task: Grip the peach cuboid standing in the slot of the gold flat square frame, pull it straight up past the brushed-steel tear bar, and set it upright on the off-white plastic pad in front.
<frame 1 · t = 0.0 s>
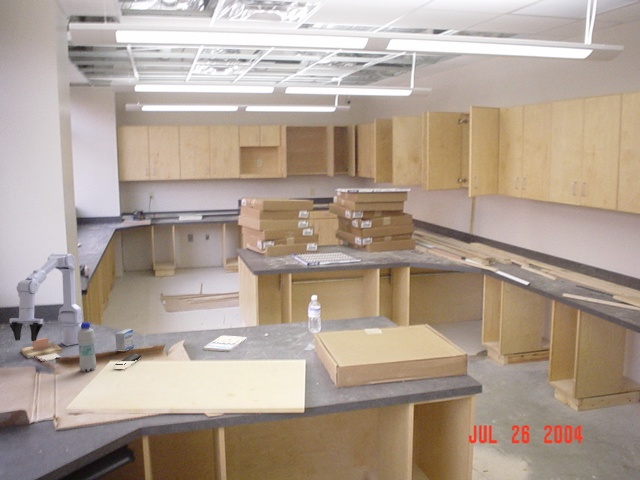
hand: (25, 340, 237), 11 cm above the counter, tool pointing down, fingers open, 7 cm apart
gold flat square frame: (41, 351, 256), on the counter
pad: (48, 358, 247), on the counter
peach cuboid: (41, 352, 256), resting in gold flat square frame
bottle: (88, 370, 231), on the counter
white book: (225, 345, 263), on the counter
multiport hub: (128, 364, 238), on the counter
medicine box: (125, 349, 258), on the counter
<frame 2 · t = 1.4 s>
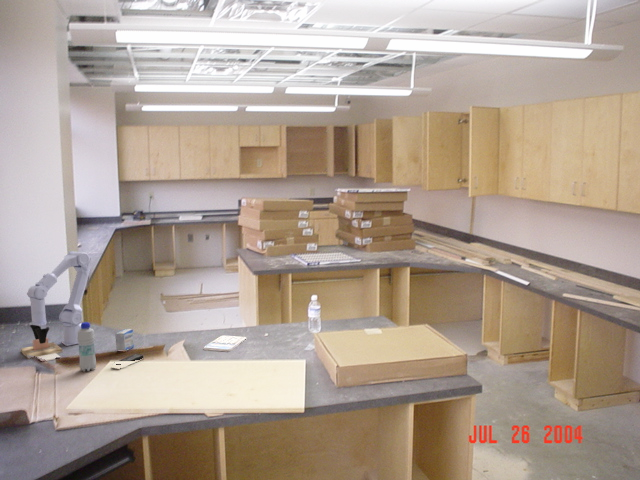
hand: (40, 341, 255), 5 cm above the counter, tool pointing down, fingers open, 7 cm apart
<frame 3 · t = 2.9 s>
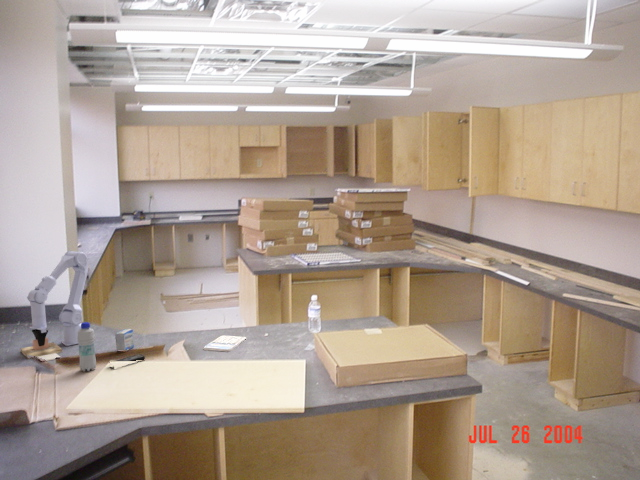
hand: (40, 345, 256), 3 cm above the counter, tool pointing down, fingers closed on peach cuboid, 2 cm apart
peach cuboid: (41, 351, 256), resting in gold flat square frame, touching gripper
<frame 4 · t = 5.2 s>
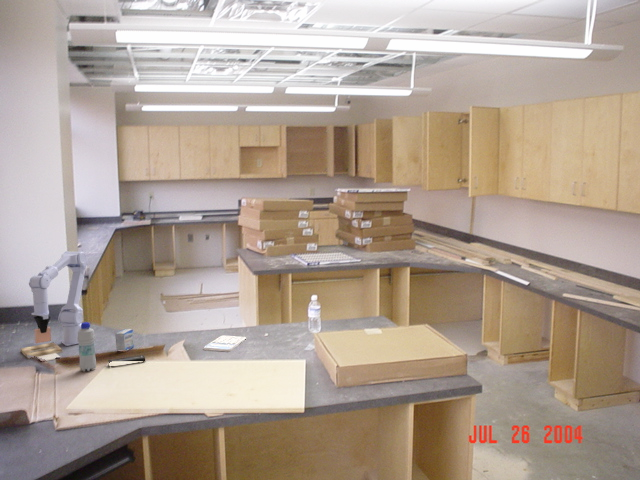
hand: (42, 332, 250), 10 cm above the counter, tool pointing down, fingers closed on peach cuboid
peach cuboid: (43, 341, 251), point 6 cm above the counter, touching gripper
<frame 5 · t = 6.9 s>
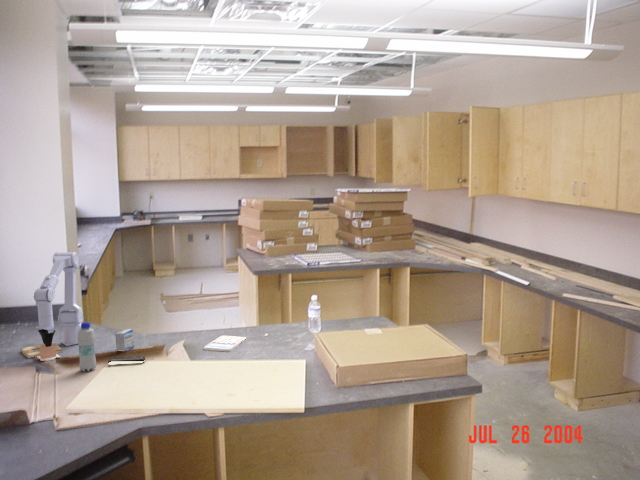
hand: (47, 345, 246), 6 cm above the counter, tool pointing down, fingers closed on peach cuboid, 2 cm apart
peach cuboid: (48, 357, 247), resting on pad, touching gripper
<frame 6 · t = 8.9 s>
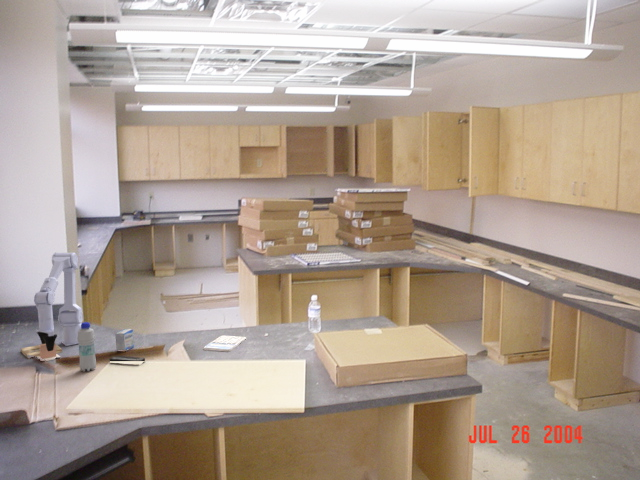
hand: (48, 348, 246), 4 cm above the counter, tool pointing down, fingers open, 7 cm apart
peach cuboid: (48, 357, 247), resting on pad
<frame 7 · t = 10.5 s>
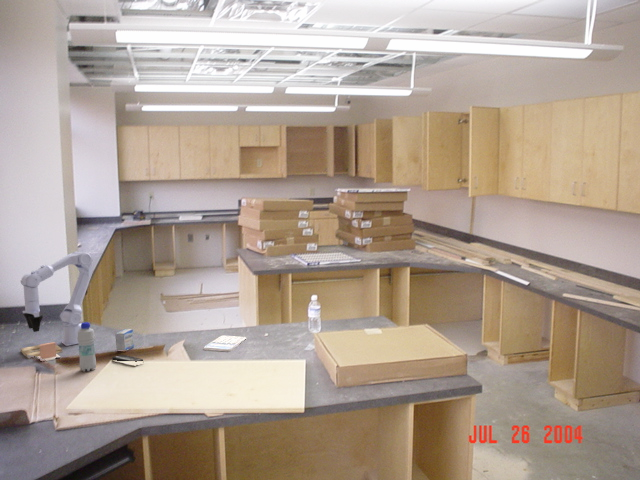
hand: (34, 329, 255), 10 cm above the counter, tool pointing down, fingers open, 7 cm apart
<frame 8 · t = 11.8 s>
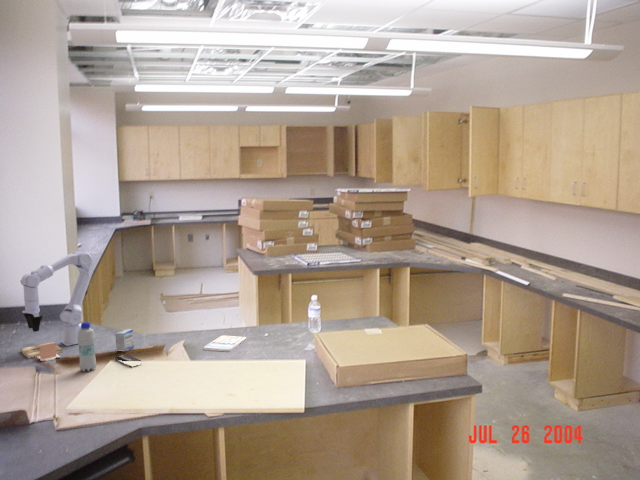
hand: (33, 329, 255), 10 cm above the counter, tool pointing down, fingers open, 7 cm apart
at the end: peach cuboid 0.1 cm off-centre on the pad, point 0.5 cm above the pad's base; peach cuboid tilted 0°; the gripper is holding nothing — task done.
